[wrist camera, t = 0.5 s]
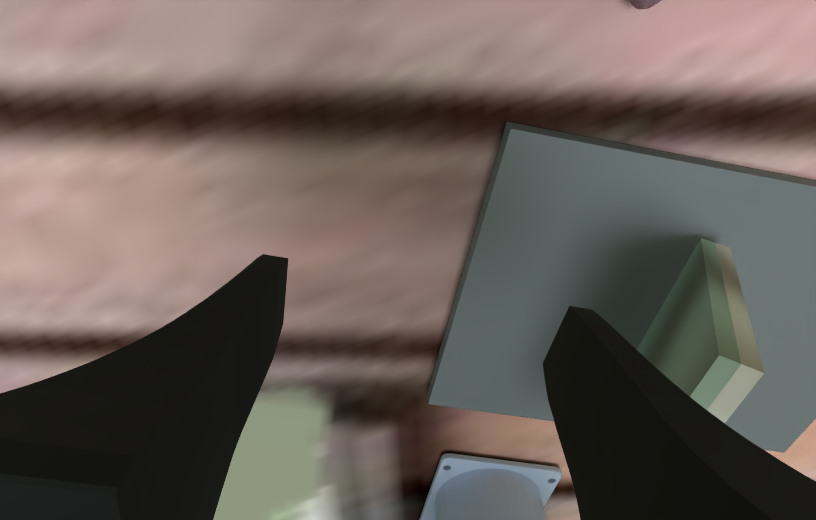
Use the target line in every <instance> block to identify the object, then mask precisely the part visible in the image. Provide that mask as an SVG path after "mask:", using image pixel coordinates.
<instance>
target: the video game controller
mask: <svg viewBox="0 0 816 520" xmlns="http://www.w3.org/2000/svg"><path fill="white" fill-rule="evenodd" d="M660 1H661V0H631V2H632V5H633V6H634V7H635V8H637V9H647V8H650V7H652V6H654V5H655V4H657V3H659V2H660Z"/></svg>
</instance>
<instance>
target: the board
mask: <svg viewBox="0 0 816 520" xmlns="http://www.w3.org/2000/svg"><path fill="white" fill-rule="evenodd" d="M701 238H702V239H705V240H708V241H711V242H714V243H717V244H720V245H723V246H726V247H729V248H730V249H731V252H732V256H733V260H734V263H735V267H736V271H737V274H738V278H739V282H740V285H741V289H742V293H743V297H744V300H745V304H746V308H747V311H748V315H749V319H750V322H751V326H752V330H753V333H754V337H755V341H756V345H757V348H758V352H759V356H760V359H761V363H762V367H763V370H764V374H763V375H762V377H761V378H760V379H759V380H758V382H757V383H756V384H755V386H754V387H753V388H752V389H751V391H750V392H749V393H748V394H747V396H746V397H745V398H744V399H743V401H742V402H741V403H740V405H739V406H738V407H737V408H736V410H735V411H734V412H733V413H732V415H731V416H730V417H729V418H728V420H727V421H726V422H725V424H726V425H728V426H729V427H730V428H732V429H733V430H735V431H736V432H737V433H739V434H740V435H742V436H743V437H745V438H746V439H748V440H749V441H751V442H752V443H754V444H755V445H757V446H758V447H760V448H761V449H763V450H769V451H777V452H785V451H786V450H787V449H788V448H789V447H790V446H791V445H792V444H793V442H794V441H795V440H796V439H797V438H798V437H799V436H800V435H801V434H802V433H803V432H804V431H805V430H806V428H807V427H808V426H809V425H810V424H811V423H812V422H813V421H814V420H815V419H816V181H815V180H810V179H805V178H800V177H794V176H789V175H784V174H779V173H773V172H768V171H763V170H758V169H753V168H747V167H742V166H737V165H732V164H726V163H721V162H716V161H711V160H706V159H700V158H695V157H690V156H685V155H679V154H674V153H669V152H664V151H658V150H653V149H648V148H643V147H638V146H632V145H627V144H622V143H617V142H611V141H606V140H601V139H596V138H591V137H585V136H580V135H575V134H570V133H564V132H559V131H554V130H549V129H543V128H538V127H533V126H528V125H523V124H517V123H512V122H506V126H505V129H504V133H503V136H502V139H501V143H500V146H499V150H498V153H497V156H496V160H495V163H494V167H493V170H492V173H491V177H490V180H489V184H488V187H487V191H486V194H485V197H484V201H483V204H482V208H481V211H480V214H479V218H478V221H477V225H476V228H475V231H474V235H473V238H472V242H471V245H470V248H469V252H468V255H467V259H466V262H465V266H464V269H463V272H462V276H461V279H460V283H459V286H458V289H457V293H456V296H455V300H454V303H453V306H452V310H451V313H450V317H449V320H448V323H447V327H446V330H445V334H444V337H443V340H442V344H441V347H440V351H439V354H438V358H437V361H436V364H435V368H434V371H433V375H432V378H431V381H430V385H429V388H428V404H431V405H439V406H446V407H453V408H461V409H468V410H475V411H483V412H490V413H498V414H505V415H512V416H520V417H527V418H534V419H542V420H549V421H554V419H553V415H552V412H551V409H550V405H549V401H548V397H547V391H546V385H545V378H544V371H543V361H544V359H545V357H546V355H547V353H548V351H549V349H550V346H551V344H552V342H553V340H554V338H555V336H556V333H557V331H558V329H559V327H560V325H561V323H562V321H563V318H564V316H565V314H566V312H567V310H568V308H569V306H574V307H580V308H586V309H592V310H593V311H595V312H596V313H597V314H598V315H600V316H601V317H602V318H603V319H604V320H605V321H606V322H608V323H609V324H610V325H611V326H612V327H613V328H614V329H615V330H616V331H617V332H618V333H619V334H620V335H622V336H623V337H624V338H625V339H626V340H627V341H628V342H629V343H630V344H631V345H632V346H633V347H634V348H635V349H636V350H637V348H638V346H639V344H640V343H641V341H642V339H643V337H644V336H645V334H646V332H647V331H648V329H649V327H650V325H651V324H652V322H653V320H654V318H655V317H656V315H657V313H658V311H659V310H660V308H661V306H662V305H663V303H664V301H665V299H666V298H667V296H668V294H669V292H670V291H671V289H672V287H673V286H674V284H675V282H676V280H677V279H678V277H679V275H680V273H681V272H682V270H683V268H684V266H685V265H686V263H687V261H688V260H689V258H690V256H691V254H692V253H693V251H694V249H695V247H696V246H697V244H698V242H699V241H700V239H701Z"/></svg>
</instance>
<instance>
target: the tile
mask: <svg viewBox="0 0 816 520" xmlns="http://www.w3.org/2000/svg"><path fill="white" fill-rule="evenodd" d="M637 351H639V352H640V353H641V354H642V355H643V356H644V357H645V358H646V359H647V360H648V361H649V362H650V363H652V364H653V365H654V366H655V367H656V368H657V369H658V370H659V371H660V372H662V373H663V374H664V375H665V376H666V377H667V378H668V379H669V380H671V381H672V382H673V383H674V384H675V385H677V386H678V387H679V388H680V389H681V390H683V391H684V392H685V393H686V394H687V395H688V396H690V397H691V398H692V399H693V400H695V401H696V402H697V403H698V404H700V405H701V406H702V407H703V408H705V409H706V410H707V411H709V412H710V413H711V414H713V415H714V416H715V417H717V418H718V419H720V420H721V421H722V422H724V423H725V422H726V421H727V420H728V418H729V417H730V416H731V415H732V413H733V412H734V411H735V410H736V408H737V407H738V406H739V405H740V403H741V402H742V401H743V399H744V398H745V397H746V396H747V394H748V393H749V392H750V391H751V389H752V388H753V387H754V386H755V384H756V383H757V382H758V380H759V379H760V378H761V377H762V375H763V374H764V370H763V367H762V363H761V359H760V356H759V352H758V348H757V345H756V341H755V337H754V333H753V330H752V326H751V322H750V319H749V315H748V311H747V308H746V304H745V300H744V297H743V293H742V289H741V285H740V282H739V278H738V274H737V271H736V267H735V263H734V260H733V256H732V252H731V249H730V248H729V247H726V246H723V245H720V244H717V243H714V242H711V241H708V240H705V239H702V238H701V239H700V241H699V242H698V244H697V246H696V247H695V249H694V251H693V253H692V254H691V256H690V258H689V260H688V261H687V263H686V265H685V266H684V268H683V270H682V272H681V273H680V275H679V277H678V279H677V280H676V282H675V284H674V286H673V287H672V289H671V291H670V292H669V294H668V296H667V298H666V299H665V301H664V303H663V305H662V306H661V308H660V310H659V311H658V313H657V315H656V317H655V318H654V320H653V322H652V324H651V325H650V327H649V329H648V331H647V332H646V334H645V336H644V337H643V339H642V341H641V343H640V344H639V346H638V348H637Z"/></svg>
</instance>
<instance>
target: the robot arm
mask: <svg viewBox="0 0 816 520" xmlns="http://www.w3.org/2000/svg"><path fill="white" fill-rule="evenodd" d="M287 267H288V258H282V257H276V256H270V255H264V254H263V255H261V256H260V257H258V258H257V259H256V260H255V261H253V262H252V263H251V264H250V265H249V266H247V267H246V268H245V269H244V270H243V271H241V272H240V273H239V274H238V275H237V276H235V277H234V278H233V279H232V280H230V281H229V282H228V283H226V284H225V285H224V286H222V287H221V288H220V289H219V290H217V291H216V292H215V293H213V294H212V295H211V296H209V297H208V298H207V299H205V300H204V301H202V302H201V303H199V304H198V305H196V306H195V307H193V308H192V309H190V310H189V311H187V312H186V313H184V314H183V315H181V316H180V317H178V318H177V319H175V320H174V321H172V322H170V323H169V324H167V325H165V326H164V327H162V328H160V329H158V330H157V331H155V332H153V333H151V334H149V335H147V336H145V337H144V338H142V339H140V340H138V341H136V342H134V343H131V344H129V345H127V346H125V347H123V348H121V349H118V350H116V351H114V352H112V353H110V354H107V355H105V356H103V357H101V358H99V359H97V360H94V361H92V362H89V363H87V364H84V365H82V366H79V367H77V368H74V369H72V370H69V371H67V372H64V373H61V374H58V375H56V376H53V377H50V378H47V379H45V380H42V381H39V382H36V383H33V384H30V385H27V386H24V387H21V388H17V389H14V390H11V391H7V392H4V393H1V394H0V520H213V518H214V514H215V511H216V508H217V505H218V501H219V498H220V495H221V491H222V488H223V485H224V482H225V478H226V475H227V472H228V469H229V466H230V462H231V459H232V456H233V453H234V450H235V448H236V445H237V442H238V440H239V437H240V435H241V432H242V430H243V427H244V425H245V423H246V421H247V418H248V416H249V414H250V411H251V409H252V407H253V404H254V402H255V400H256V397H257V395H258V393H259V390H260V388H261V386H262V383H263V381H264V379H265V376H266V374H267V372H268V369H269V367H270V364H271V362H272V360H273V357H274V354H275V350H276V347H277V343H278V340H279V336H280V333H281V329H282V325H283V319H284V306H285V293H286V280H287ZM543 371H544V378H545V385H546V391H547V397H548V401H549V405H550V409H551V412H552V415H553V419H554V422H555V426H556V429H557V432H558V435H559V439H560V442H561V445H562V449H563V452H564V455H565V458H566V462H567V465H568V468H569V471H570V475H571V478H572V482H573V486H574V490H575V493H576V498H577V503H578V508H579V513H580V518H581V520H816V481H814V480H812V479H810V478H808V477H807V476H805V475H803V474H801V473H800V472H798V471H797V470H795V469H793V468H792V467H790V466H788V465H787V464H785V463H783V462H782V461H780V460H778V459H777V458H775V457H774V456H772V455H771V454H769V453H768V452H766V451H765V450H763V449H761V448H760V447H758V446H757V445H755V444H754V443H752V442H751V441H749V440H748V439H746V438H745V437H743V436H742V435H740V434H739V433H737V432H736V431H735V430H733V429H732V428H730V427H729V426H728V425H726V424H725V423H724V422H722V421H721V420H720V419H718V418H717V417H715V416H714V415H713V414H711V413H710V412H709V411H707V410H706V409H705V408H703V407H702V406H701V405H700V404H698V403H697V402H696V401H695V400H693V399H692V398H691V397H690V396H688V395H687V394H686V393H685V392H684V391H683V390H681V389H680V388H679V387H678V386H677V385H675V384H674V383H673V382H672V381H671V380H669V379H668V378H667V377H666V376H665V375H664V374H663V373H662V372H660V371H659V370H658V369H657V368H656V367H655V366H654V365H653V364H652V363H650V362H649V361H648V360H647V359H646V358H645V357H644V356H643V355H642V354H641V353H640V352H639V351H637V350H636V349H635V348H634V347H633V346H632V345H631V344H630V343H629V342H628V341H627V340H626V339H625V338H624V337H623V336H622V335H620V334H619V333H618V332H617V331H616V330H615V329H614V328H613V327H612V326H611V325H610V324H609V323H608V322H606V321H605V320H604V319H603V318H602V317H601V316H600V315H598V314H597V313H596V312H595V311H593V310H592V309H586V308H580V307H574V306H569V308H568V310H567V312H566V314H565V316H564V318H563V321H562V323H561V325H560V327H559V329H558V331H557V333H556V336H555V338H554V340H553V342H552V344H551V346H550V349H549V351H548V353H547V355H546V357H545V359H544V361H543ZM561 476H562V473H561V470H560V469H559V468H558V467H554V466H546V465H538V464H530V463H522V462H514V461H507V460H499V459H491V458H483V457H475V456H467V455H459V454H452V453H447V454H444V455H442V457H441V459H440V462H439V465H438V467H437V470H436V473H435V476H434V479H433V482H432V485H431V487H430V490H429V493H428V496H427V499H426V502H425V505H424V507H423V510H422V513H421V516H420V519H419V520H547V518H546V514H545V509H544V506H545V504H546V503H547V501H548V499H549V497H550V496H551V494H552V492H553V490H554V489H555V487H556V485H557V484H558V482H559V480H560V478H561Z"/></svg>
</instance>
